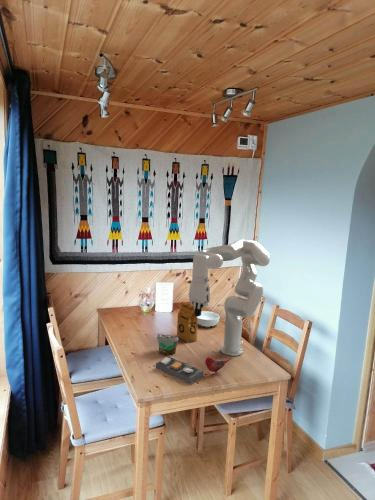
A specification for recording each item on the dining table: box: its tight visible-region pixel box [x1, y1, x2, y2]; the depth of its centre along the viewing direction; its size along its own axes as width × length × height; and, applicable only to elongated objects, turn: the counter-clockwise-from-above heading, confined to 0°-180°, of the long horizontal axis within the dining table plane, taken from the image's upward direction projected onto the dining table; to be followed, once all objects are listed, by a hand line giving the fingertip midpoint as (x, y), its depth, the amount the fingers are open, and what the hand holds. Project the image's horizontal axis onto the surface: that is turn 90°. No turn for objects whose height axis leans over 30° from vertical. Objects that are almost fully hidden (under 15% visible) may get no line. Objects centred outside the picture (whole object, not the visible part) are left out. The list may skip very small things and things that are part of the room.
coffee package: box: [176, 301, 199, 343], centre depth 223 cm, size 10×12×22 cm
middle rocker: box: [172, 362, 182, 369], centre depth 180 cm, size 4×3×1 cm
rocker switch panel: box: [155, 356, 204, 385], centre depth 181 cm, size 10×22×4 cm, turn 51°
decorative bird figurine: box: [203, 356, 233, 376], centre depth 182 cm, size 3×18×10 cm, turn 125°
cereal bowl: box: [197, 310, 221, 328], centre depth 249 cm, size 17×17×7 cm
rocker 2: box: [183, 368, 194, 373], centre depth 175 cm, size 4×3×1 cm
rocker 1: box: [160, 356, 171, 365], centre depth 184 cm, size 4×3×1 cm
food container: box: [156, 332, 179, 357], centre depth 201 cm, size 12×6×10 cm, turn 68°
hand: (197, 315), depth 184 cm, fingers closed
